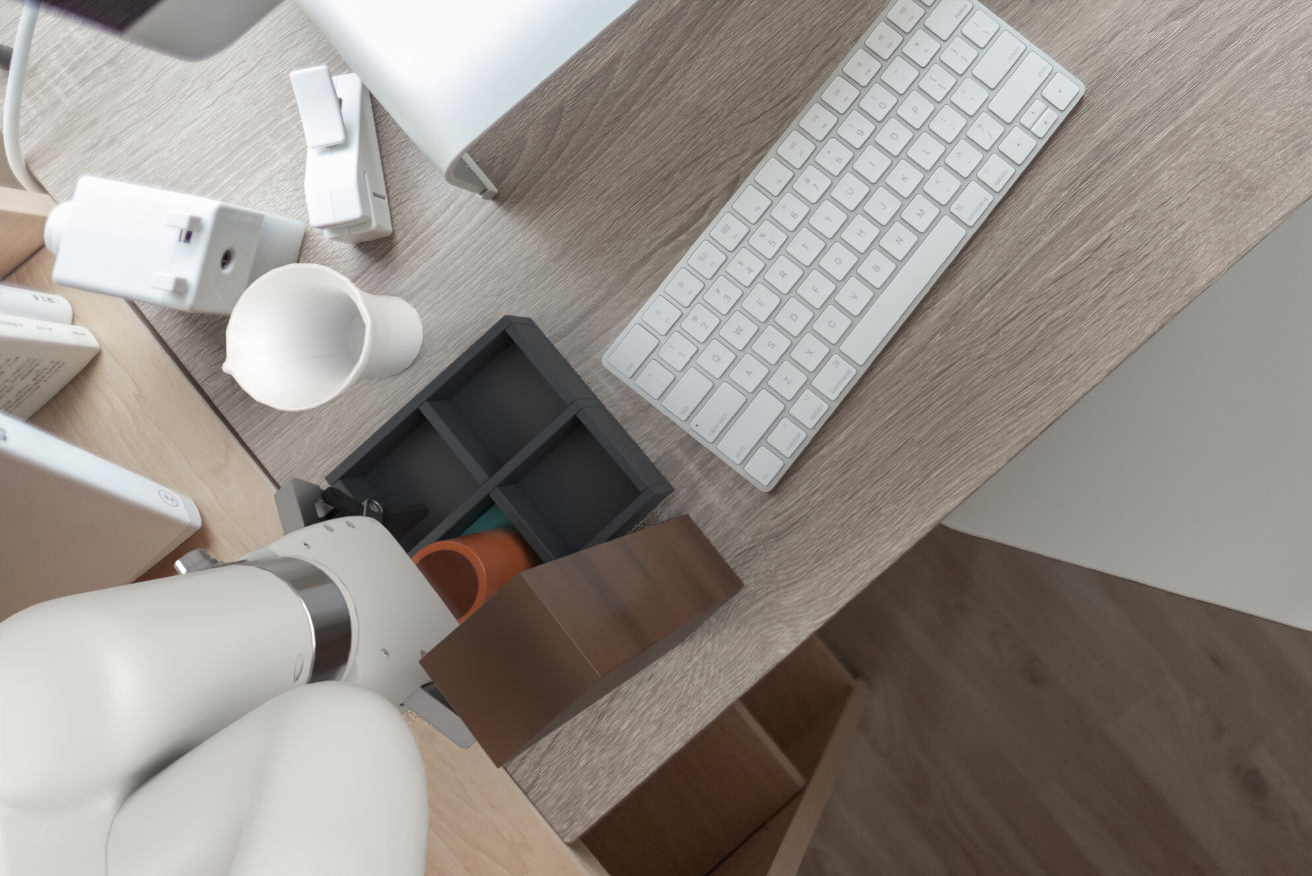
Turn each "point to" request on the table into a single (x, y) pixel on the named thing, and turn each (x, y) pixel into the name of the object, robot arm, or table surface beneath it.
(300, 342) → the cup
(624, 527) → the divided tray
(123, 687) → the robot arm
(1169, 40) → the table surface
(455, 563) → the tumbler
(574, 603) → the brown wooden block
